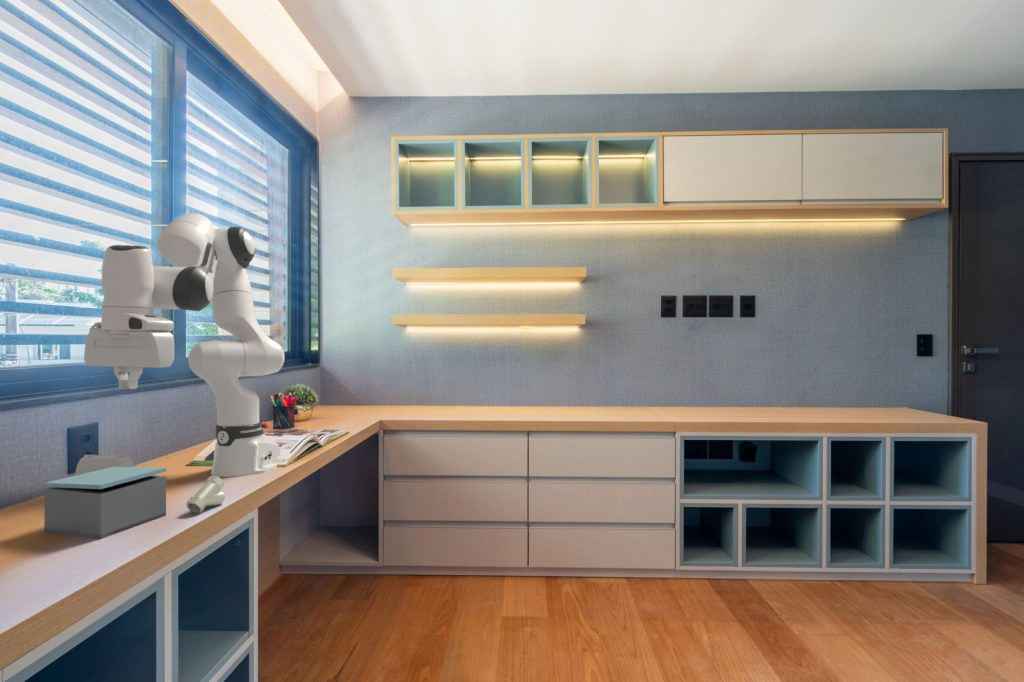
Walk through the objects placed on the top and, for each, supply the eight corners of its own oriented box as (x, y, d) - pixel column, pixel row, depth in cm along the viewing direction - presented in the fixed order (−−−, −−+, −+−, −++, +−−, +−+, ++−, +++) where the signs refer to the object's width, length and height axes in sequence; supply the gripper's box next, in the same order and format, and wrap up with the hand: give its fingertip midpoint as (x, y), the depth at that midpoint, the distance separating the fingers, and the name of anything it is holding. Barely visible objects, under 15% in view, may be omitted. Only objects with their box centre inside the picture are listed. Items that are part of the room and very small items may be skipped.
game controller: (140, 489, 136) (140, 450, 136) (129, 494, 132) (129, 454, 132) (83, 489, 135) (83, 451, 135) (69, 494, 131) (69, 455, 131)
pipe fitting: (218, 495, 125) (207, 475, 121) (232, 496, 124) (221, 476, 121) (195, 522, 118) (182, 501, 115) (210, 523, 117) (198, 502, 114)
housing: (113, 511, 118) (113, 471, 118) (166, 517, 114) (166, 476, 114) (44, 533, 105) (44, 488, 105) (100, 540, 101) (100, 494, 101)
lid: (113, 470, 118) (113, 466, 118) (165, 471, 114) (165, 467, 114) (44, 486, 105) (44, 482, 105) (100, 489, 101) (100, 484, 101)
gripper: (74, 321, 108) (74, 388, 108) (152, 321, 102) (152, 391, 102) (105, 322, 114) (105, 385, 114) (180, 322, 108) (180, 388, 109)
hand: (128, 388), depth 108 cm, fingers closed
